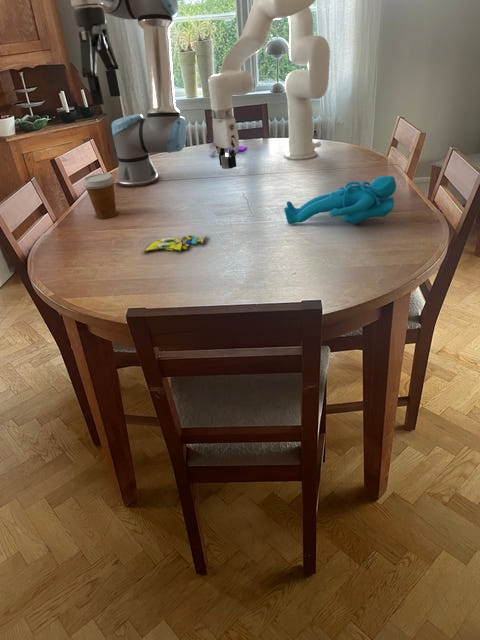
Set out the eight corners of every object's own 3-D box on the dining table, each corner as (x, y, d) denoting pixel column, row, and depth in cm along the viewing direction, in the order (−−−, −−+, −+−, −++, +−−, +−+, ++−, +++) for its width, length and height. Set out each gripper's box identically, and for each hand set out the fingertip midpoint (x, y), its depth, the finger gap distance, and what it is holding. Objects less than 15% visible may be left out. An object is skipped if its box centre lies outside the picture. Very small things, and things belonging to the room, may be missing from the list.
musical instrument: (232, 160, 201) (256, 142, 213) (231, 155, 200) (255, 138, 212) (188, 160, 214) (213, 143, 226) (187, 155, 213) (212, 139, 225)
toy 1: (199, 248, 125) (143, 249, 127) (199, 251, 125) (144, 252, 127) (206, 233, 133) (154, 234, 135) (206, 236, 133) (154, 237, 136)
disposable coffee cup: (85, 218, 153) (75, 181, 146) (103, 208, 160) (94, 172, 154) (110, 221, 150) (101, 182, 143) (127, 210, 157) (119, 173, 150)
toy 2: (287, 190, 142) (392, 164, 132) (296, 223, 147) (398, 200, 137) (279, 211, 128) (396, 183, 118) (290, 247, 133) (402, 223, 123)
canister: (221, 169, 176) (220, 157, 174) (222, 165, 180) (220, 153, 178) (234, 168, 176) (233, 155, 174) (234, 164, 180) (233, 152, 178)
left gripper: (83, 6, 108) (105, 107, 120) (118, 5, 129) (134, 92, 140) (52, 9, 109) (76, 109, 121) (91, 8, 130) (109, 93, 141)
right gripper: (245, 114, 164) (250, 167, 174) (217, 109, 176) (223, 160, 186) (227, 118, 160) (233, 173, 170) (200, 113, 172) (207, 164, 182)
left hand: (107, 100), depth 131 cm, fingers open, 13 cm apart
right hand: (228, 165), depth 178 cm, fingers closed on canister, 4 cm apart
